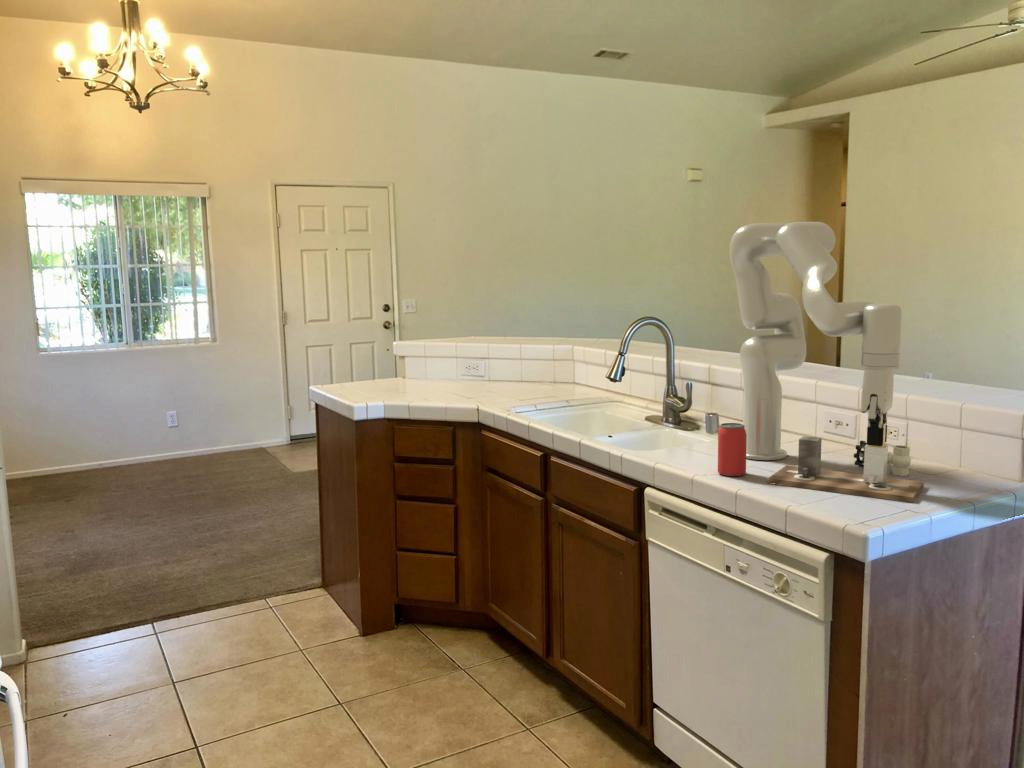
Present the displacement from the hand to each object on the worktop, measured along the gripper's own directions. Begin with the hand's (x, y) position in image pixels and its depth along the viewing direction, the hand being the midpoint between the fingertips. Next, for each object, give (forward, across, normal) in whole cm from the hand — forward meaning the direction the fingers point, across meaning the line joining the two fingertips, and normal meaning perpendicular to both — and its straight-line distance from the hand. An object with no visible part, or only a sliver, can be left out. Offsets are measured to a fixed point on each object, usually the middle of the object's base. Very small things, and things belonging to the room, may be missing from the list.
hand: (876, 442), depth 174 cm
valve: (+11, -17, -1) cm, 20 cm away
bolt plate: (+10, +1, -6) cm, 12 cm away
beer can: (+10, +4, -31) cm, 33 cm away
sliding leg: (+9, +1, 0) cm, 9 cm away
